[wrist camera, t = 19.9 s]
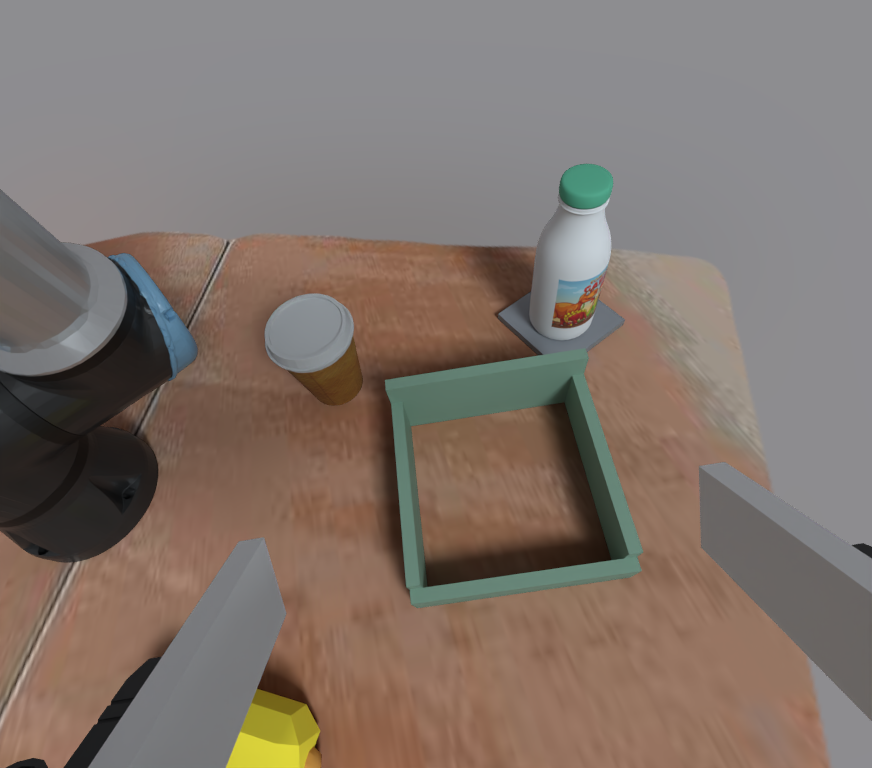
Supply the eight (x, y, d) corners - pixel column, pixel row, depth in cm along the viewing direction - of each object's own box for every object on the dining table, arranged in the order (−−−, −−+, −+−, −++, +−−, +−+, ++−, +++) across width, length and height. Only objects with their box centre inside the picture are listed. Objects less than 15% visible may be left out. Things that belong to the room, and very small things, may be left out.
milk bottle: (524, 338, 58) (537, 203, 40) (533, 290, 61) (548, 148, 44) (589, 346, 56) (631, 210, 39) (594, 297, 60) (634, 153, 42)
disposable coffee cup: (326, 342, 62) (293, 280, 51) (389, 365, 59) (367, 304, 49) (286, 401, 58) (241, 346, 48) (350, 429, 55) (317, 377, 45)
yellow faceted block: (170, 655, 45) (126, 752, 41) (123, 655, 39) (68, 768, 36) (342, 712, 41) (310, 825, 38) (318, 722, 36) (278, 855, 32)
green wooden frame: (630, 577, 44) (659, 561, 36) (417, 608, 45) (401, 598, 37) (572, 391, 54) (585, 348, 47) (400, 418, 55) (384, 379, 47)
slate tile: (498, 318, 61) (498, 313, 60) (560, 275, 63) (560, 270, 62) (558, 373, 56) (559, 369, 55) (623, 324, 58) (625, 319, 57)
